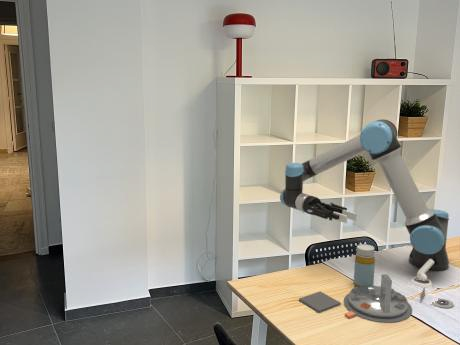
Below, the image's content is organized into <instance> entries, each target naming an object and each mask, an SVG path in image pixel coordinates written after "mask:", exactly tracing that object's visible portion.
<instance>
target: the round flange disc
mask: <svg viewBox="0 0 460 345" xmlns="http://www.w3.org/2000/svg"><path fill="white" fill-rule="evenodd" d="M392 284H393V280H392V279H391V277H390V276H389V275H388V274H381V280H380V286H377V285H374V284H373V285H367V286H361V287H357V286H354V287H352V289H351V290H350V291H349V292H348V294H349V297H348V302H349V304H350V306H351V307H352V308H353V309H354V310H356V311H358V312H359V313H362V314H364V315H367V316H370V317H375V318H383V319H390V318H397V317H400V316H403V315H404V314H405V313H406V312H407V308H408V303H409V302H408V299H407V297H406V296H405V295H404V294H402V293H400V292H398V291H396V290H395V288H393V287H392V286H393V285H392Z"/></svg>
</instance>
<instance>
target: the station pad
mask: <svg viewBox="0 0 460 345" xmlns="http://www.w3.org/2000/svg"><path fill="white" fill-rule="evenodd" d="M298 301H299V302H300V303H301V304H303V305H306V306H307V307H309V309H312V310H313V311H315V312H317V313H318V314H320V313H322V312H326V311H329V310H331V309H333V308H336V307H339V306H341V305H342V302H340V301H339V300H337V299H335V298H334V297H332V296H329V295H328V294H326V293H325V292H323V291H320V290H319V291H316V292H313V293H312V294H309V295H306V296H302V297H300V298H299V299H298Z"/></svg>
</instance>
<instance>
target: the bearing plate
mask: <svg viewBox="0 0 460 345" xmlns="http://www.w3.org/2000/svg"><path fill="white" fill-rule="evenodd" d="M348 297H349V293H347V294H346V295H345V296H344V299H343V305H344V306H345V308H346V309H347V311H348V312H350V311H352V312H354V313H356V317H358V318H361V319H364V320H367V321H370V322H375V323H384V324H392V323H400V322H403V321H406V320H409V318H410V317H411V316H412V315H413V314H412V313H413V308H412V305H411V304H410V303H409V302H408V308H407V312H406V313H405V314H404V315H403V316H400V317H397V318H390V319H383V318H375V317H370V316H367V315H364V314H362V313H359V312H358V311H356V310H354V309H353V308H352V307H351V306H350V304H349V302H348Z"/></svg>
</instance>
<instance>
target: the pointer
mask: <svg viewBox="0 0 460 345" xmlns="http://www.w3.org/2000/svg"><path fill="white" fill-rule="evenodd" d="M344 317H345V318H347V319H348V320H350V319H353V318H355V317H357V316H356V313H354V312H352V311H347V312H345V313H344Z"/></svg>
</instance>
